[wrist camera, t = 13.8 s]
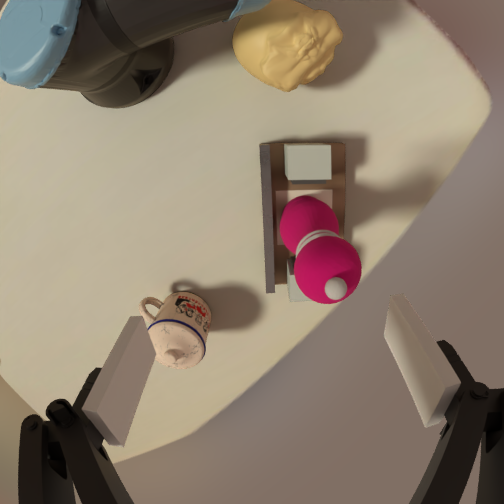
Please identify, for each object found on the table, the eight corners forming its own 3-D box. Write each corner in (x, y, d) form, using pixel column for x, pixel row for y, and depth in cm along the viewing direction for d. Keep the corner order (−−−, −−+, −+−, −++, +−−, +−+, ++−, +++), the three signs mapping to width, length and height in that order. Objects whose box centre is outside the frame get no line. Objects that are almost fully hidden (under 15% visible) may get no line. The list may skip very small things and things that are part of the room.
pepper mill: (340, 210, 40) (399, 279, 22) (310, 251, 43) (343, 343, 24) (297, 181, 39) (330, 231, 21) (267, 225, 41) (272, 307, 23)
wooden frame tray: (259, 143, 39) (259, 144, 37) (341, 143, 39) (345, 143, 37) (265, 278, 47) (266, 285, 45) (337, 275, 46) (340, 281, 44)
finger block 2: (286, 255, 43) (289, 270, 39) (321, 253, 43) (328, 268, 38) (287, 284, 45) (289, 301, 40) (320, 282, 45) (326, 299, 40)
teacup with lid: (224, 313, 50) (215, 361, 39) (191, 342, 52) (178, 390, 41) (166, 267, 47) (141, 307, 36) (137, 301, 49) (111, 343, 39)
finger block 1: (283, 143, 37) (287, 145, 33) (322, 143, 37) (330, 145, 32) (285, 178, 39) (288, 185, 34) (322, 177, 39) (331, 184, 34)
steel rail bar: (259, 144, 37) (259, 145, 35) (268, 144, 37) (269, 145, 35) (265, 284, 45) (266, 293, 43) (274, 284, 45) (274, 292, 43)
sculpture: (288, 108, 37) (298, 101, 27) (219, 56, 35) (205, 33, 25) (341, 53, 34) (366, 31, 24) (273, 2, 31) (276, -33, 21)
